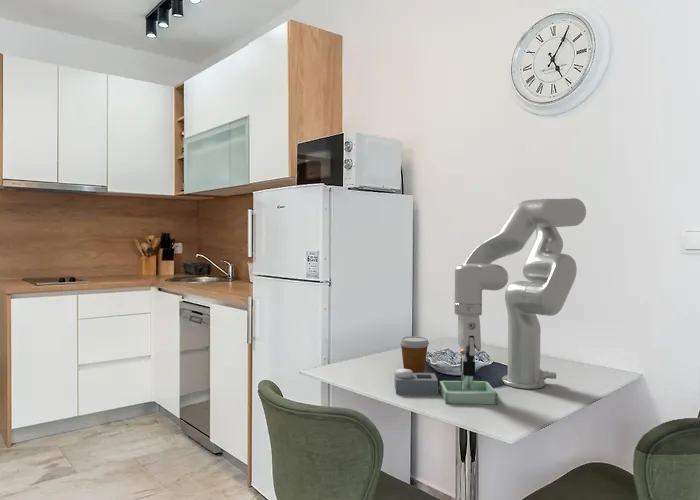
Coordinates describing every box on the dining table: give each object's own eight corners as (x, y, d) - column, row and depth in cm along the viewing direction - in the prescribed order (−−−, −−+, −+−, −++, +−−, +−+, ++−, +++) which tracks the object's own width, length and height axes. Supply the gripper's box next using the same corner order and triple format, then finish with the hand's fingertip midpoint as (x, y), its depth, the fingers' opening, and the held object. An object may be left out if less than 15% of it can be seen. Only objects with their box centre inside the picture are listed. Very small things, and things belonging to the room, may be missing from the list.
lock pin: (472, 386, 147) (473, 347, 147) (475, 390, 143) (476, 351, 143) (458, 385, 147) (459, 347, 147) (461, 389, 143) (461, 350, 143)
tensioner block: (434, 386, 155) (434, 367, 155) (437, 394, 147) (438, 375, 147) (394, 385, 156) (394, 367, 156) (396, 393, 148) (396, 374, 148)
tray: (487, 390, 151) (487, 381, 151) (497, 404, 139) (497, 393, 139) (439, 390, 151) (439, 380, 151) (445, 403, 139) (445, 393, 139)
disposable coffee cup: (428, 380, 162) (428, 342, 162) (397, 378, 164) (398, 341, 164) (429, 372, 171) (429, 336, 171) (401, 370, 173) (401, 335, 173)
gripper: (488, 313, 136) (487, 382, 137) (475, 305, 153) (474, 366, 153) (460, 313, 136) (459, 381, 137) (450, 305, 153) (449, 366, 153)
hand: (467, 373), depth 145 cm, fingers closed on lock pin, 3 cm apart
